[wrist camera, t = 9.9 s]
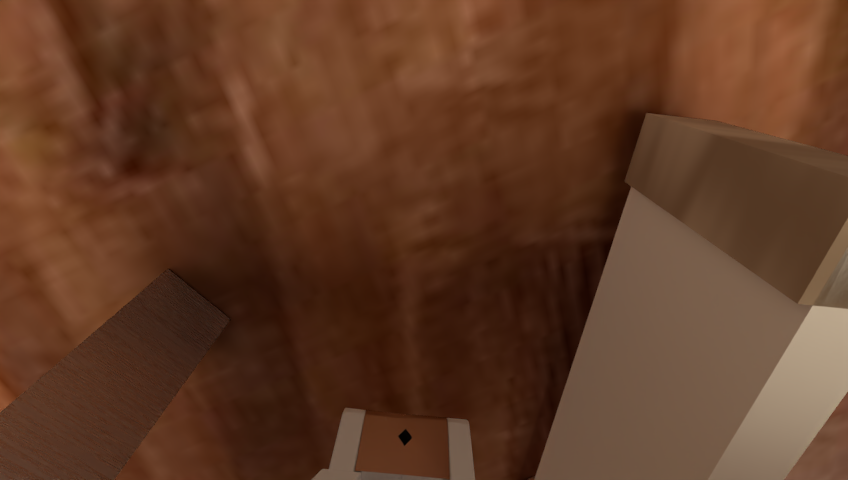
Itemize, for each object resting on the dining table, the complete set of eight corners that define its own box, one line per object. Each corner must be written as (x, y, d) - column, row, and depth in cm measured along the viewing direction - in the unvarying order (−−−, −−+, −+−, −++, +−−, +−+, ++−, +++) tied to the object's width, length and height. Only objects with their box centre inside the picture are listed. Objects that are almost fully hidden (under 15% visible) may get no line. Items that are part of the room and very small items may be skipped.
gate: (554, 531, 20) (606, 735, 14) (513, 527, 20) (547, 732, 14) (716, 120, 12) (1006, 198, 6) (646, 113, 12) (868, 183, 6)
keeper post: (230, 319, 17) (77, 530, 9) (200, 344, 17) (33, 561, 10) (168, 268, 16) (-57, 460, 8) (137, 296, 16) (-97, 499, 9)
